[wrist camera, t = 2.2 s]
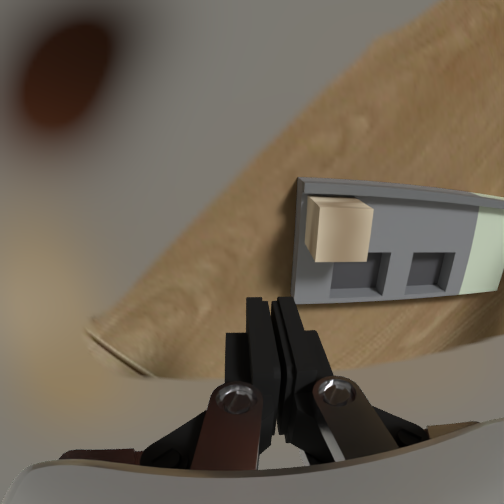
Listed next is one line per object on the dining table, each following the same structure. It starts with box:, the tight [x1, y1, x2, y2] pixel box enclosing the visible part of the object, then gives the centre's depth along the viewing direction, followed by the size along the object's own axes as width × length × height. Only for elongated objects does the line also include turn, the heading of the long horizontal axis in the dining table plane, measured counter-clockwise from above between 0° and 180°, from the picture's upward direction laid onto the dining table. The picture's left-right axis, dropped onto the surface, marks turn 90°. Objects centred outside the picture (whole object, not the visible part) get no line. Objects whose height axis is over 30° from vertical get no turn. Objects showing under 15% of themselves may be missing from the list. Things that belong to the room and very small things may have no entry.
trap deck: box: [290, 177, 504, 304], centre depth 27 cm, size 26×11×3 cm, turn 89°
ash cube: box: [305, 195, 374, 262], centre depth 23 cm, size 4×4×4 cm
